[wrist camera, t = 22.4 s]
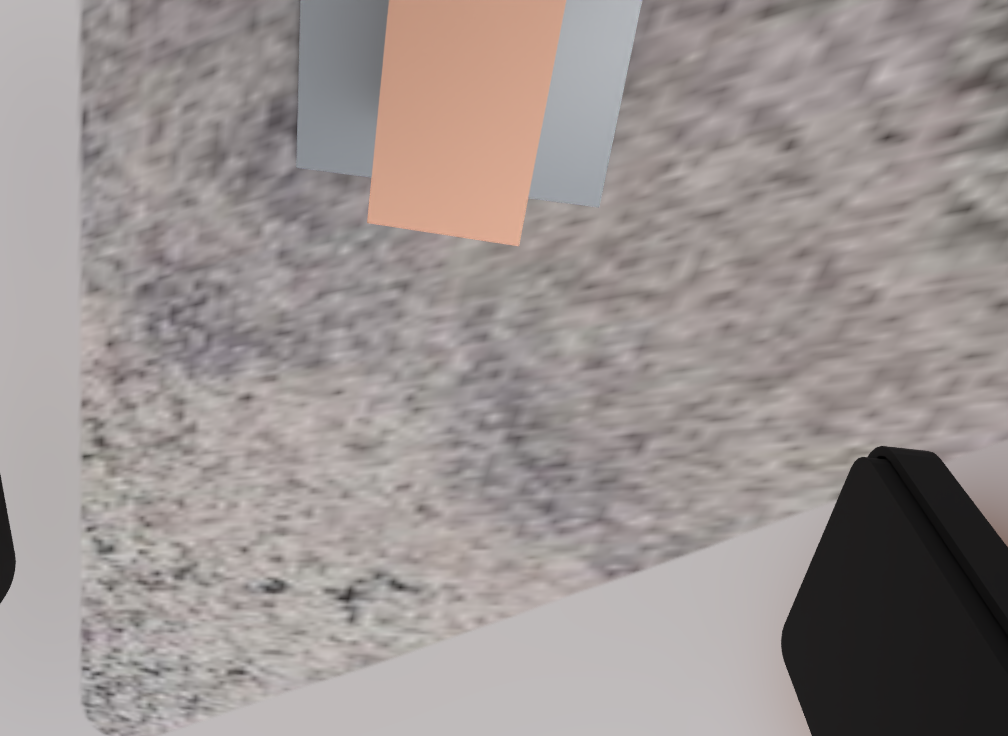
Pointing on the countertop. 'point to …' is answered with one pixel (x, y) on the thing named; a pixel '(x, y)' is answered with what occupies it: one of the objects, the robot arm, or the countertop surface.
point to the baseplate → (568, 114)
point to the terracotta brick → (462, 114)
